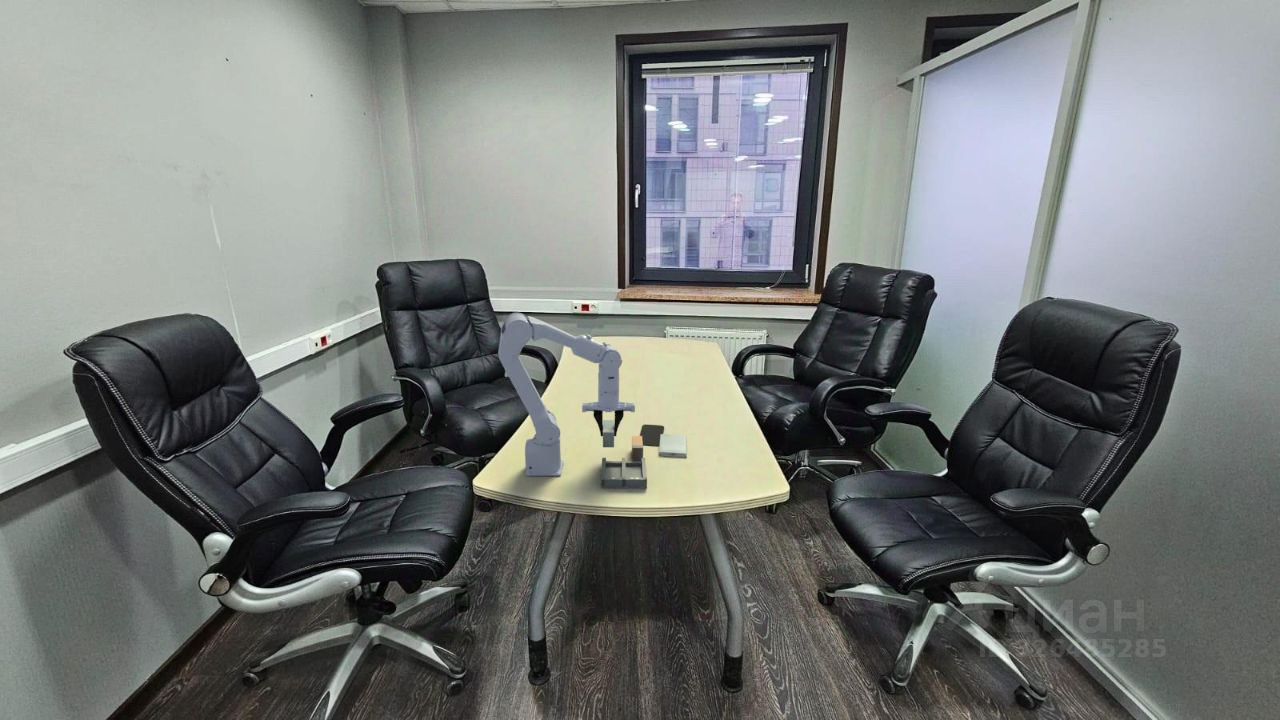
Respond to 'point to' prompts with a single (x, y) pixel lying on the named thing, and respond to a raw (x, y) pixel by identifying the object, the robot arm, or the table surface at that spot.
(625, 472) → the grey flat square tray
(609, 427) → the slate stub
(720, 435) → the table surface
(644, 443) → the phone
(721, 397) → the table surface
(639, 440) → the terracotta stub
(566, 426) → the table surface
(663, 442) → the hard drive
